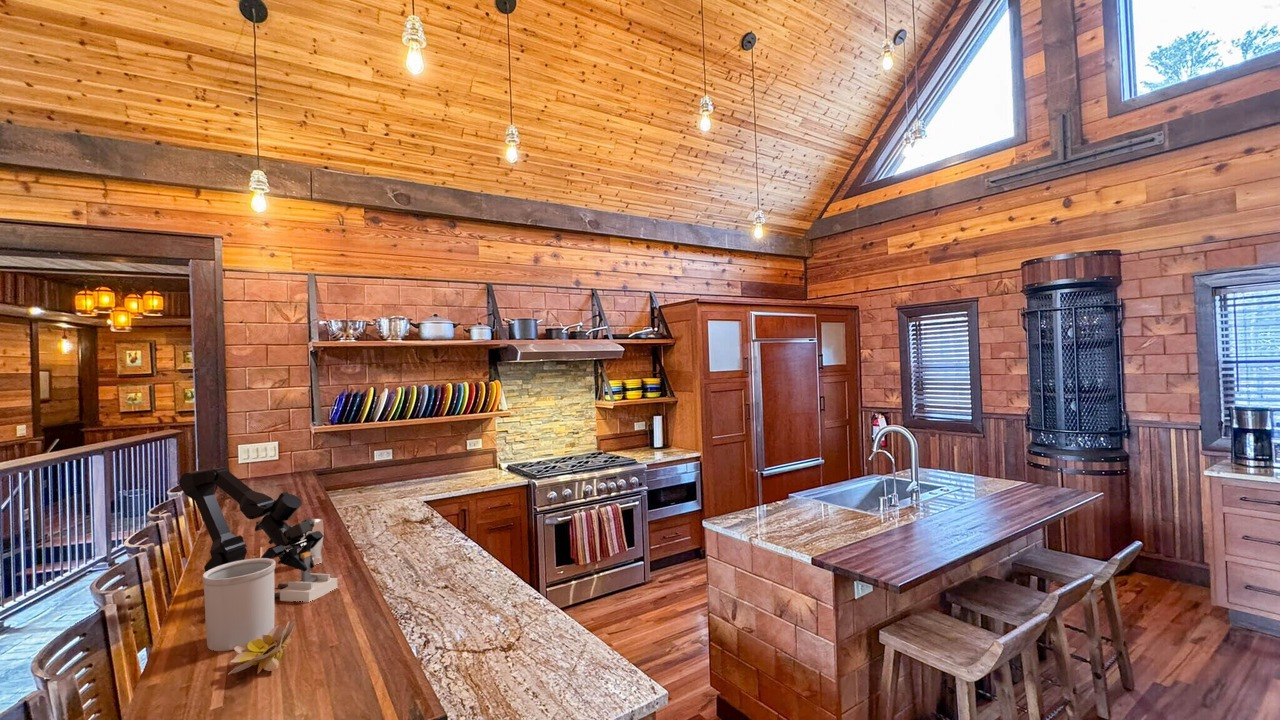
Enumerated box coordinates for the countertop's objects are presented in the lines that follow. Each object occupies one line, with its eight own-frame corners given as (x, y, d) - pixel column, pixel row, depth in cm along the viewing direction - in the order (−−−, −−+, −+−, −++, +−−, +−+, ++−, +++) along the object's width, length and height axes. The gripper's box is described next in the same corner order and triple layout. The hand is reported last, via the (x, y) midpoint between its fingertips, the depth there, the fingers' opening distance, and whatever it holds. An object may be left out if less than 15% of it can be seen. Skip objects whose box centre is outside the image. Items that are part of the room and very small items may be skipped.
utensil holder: (238, 655, 129) (237, 579, 129) (186, 650, 132) (186, 576, 132) (290, 626, 143) (289, 559, 144) (242, 623, 146) (242, 556, 147)
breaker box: (253, 598, 163) (253, 582, 163) (284, 584, 174) (284, 569, 174) (309, 602, 159) (309, 585, 159) (337, 587, 170) (337, 572, 170)
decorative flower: (237, 646, 129) (248, 604, 130) (292, 648, 133) (302, 607, 134) (215, 683, 115) (228, 636, 116) (277, 684, 119) (289, 638, 120)
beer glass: (316, 567, 190) (315, 523, 190) (296, 567, 190) (296, 523, 190) (328, 560, 197) (327, 518, 197) (309, 560, 197) (308, 518, 197)
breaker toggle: (295, 585, 163) (294, 555, 164) (308, 579, 168) (308, 550, 169) (303, 586, 163) (303, 555, 163) (316, 580, 168) (316, 550, 168)
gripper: (267, 520, 158) (300, 560, 155) (318, 505, 176) (348, 541, 174) (244, 547, 159) (277, 587, 157) (297, 529, 178) (327, 565, 175)
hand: (309, 568), depth 165 cm, fingers closed on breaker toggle, 2 cm apart
